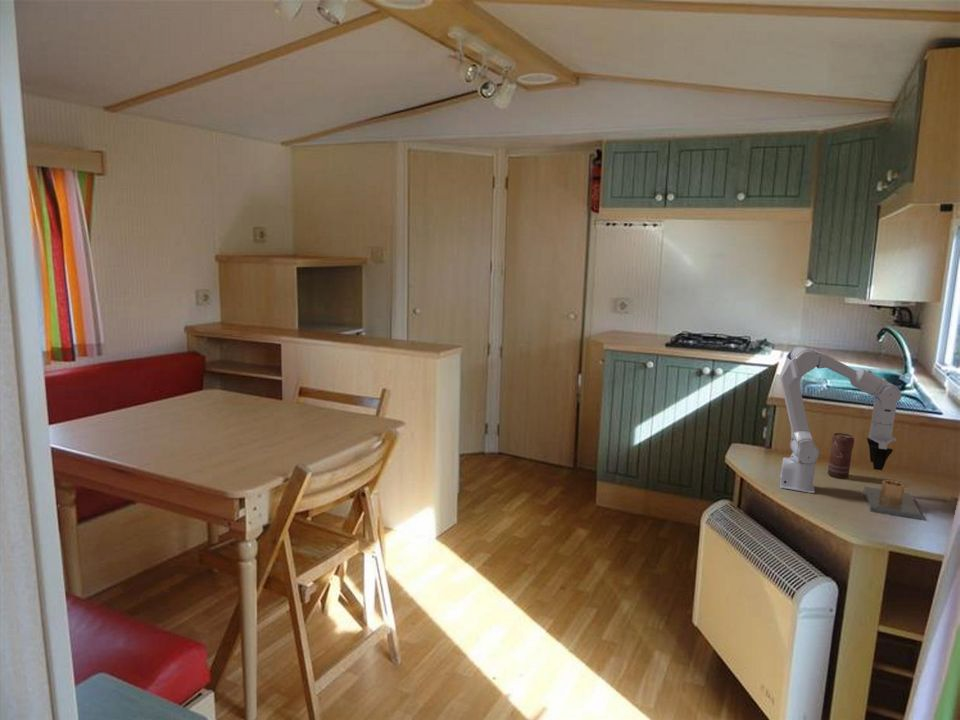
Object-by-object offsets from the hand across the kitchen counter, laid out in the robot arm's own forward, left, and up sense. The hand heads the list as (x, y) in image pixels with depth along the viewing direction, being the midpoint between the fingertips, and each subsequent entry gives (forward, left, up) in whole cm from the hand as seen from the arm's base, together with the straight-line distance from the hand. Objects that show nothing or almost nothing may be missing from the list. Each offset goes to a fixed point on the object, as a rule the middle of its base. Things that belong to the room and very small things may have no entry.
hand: (876, 465), depth 196 cm
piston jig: (+4, -6, -9) cm, 12 cm away
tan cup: (+4, -6, -8) cm, 11 cm away
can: (-8, +15, -10) cm, 20 cm away
